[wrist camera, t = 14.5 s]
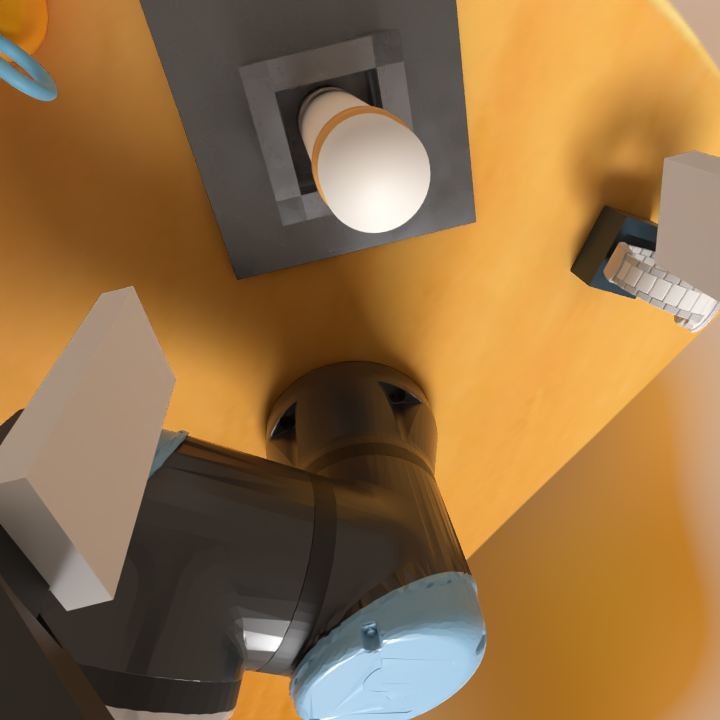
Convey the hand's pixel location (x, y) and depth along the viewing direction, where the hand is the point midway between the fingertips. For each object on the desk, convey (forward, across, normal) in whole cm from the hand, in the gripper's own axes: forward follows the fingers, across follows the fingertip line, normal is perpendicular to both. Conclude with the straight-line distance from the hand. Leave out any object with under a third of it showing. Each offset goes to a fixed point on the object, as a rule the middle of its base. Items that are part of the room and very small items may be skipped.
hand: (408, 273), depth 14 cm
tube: (+26, 0, 0) cm, 26 cm away
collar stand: (+27, 0, 0) cm, 27 cm away
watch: (+27, -20, +14) cm, 36 cm away
